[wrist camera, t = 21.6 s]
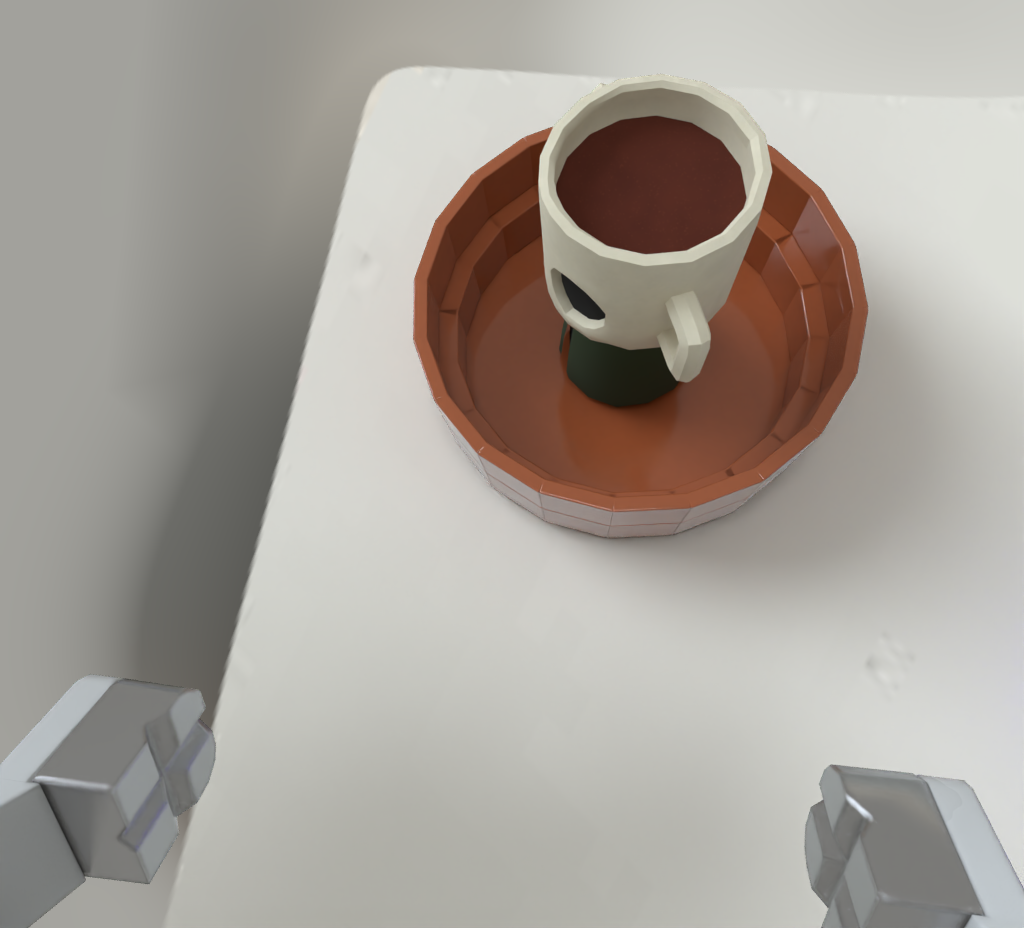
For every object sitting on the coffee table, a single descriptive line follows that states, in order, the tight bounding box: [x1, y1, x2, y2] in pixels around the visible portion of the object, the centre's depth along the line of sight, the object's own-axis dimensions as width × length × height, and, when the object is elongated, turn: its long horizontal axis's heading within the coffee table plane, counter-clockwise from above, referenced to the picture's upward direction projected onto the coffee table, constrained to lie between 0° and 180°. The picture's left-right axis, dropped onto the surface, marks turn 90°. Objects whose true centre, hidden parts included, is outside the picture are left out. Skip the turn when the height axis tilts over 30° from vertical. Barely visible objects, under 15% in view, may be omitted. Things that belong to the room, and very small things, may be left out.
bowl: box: [413, 127, 868, 538], centre depth 31 cm, size 18×18×6 cm
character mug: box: [538, 74, 772, 407], centre depth 27 cm, size 11×7×13 cm, turn 15°
